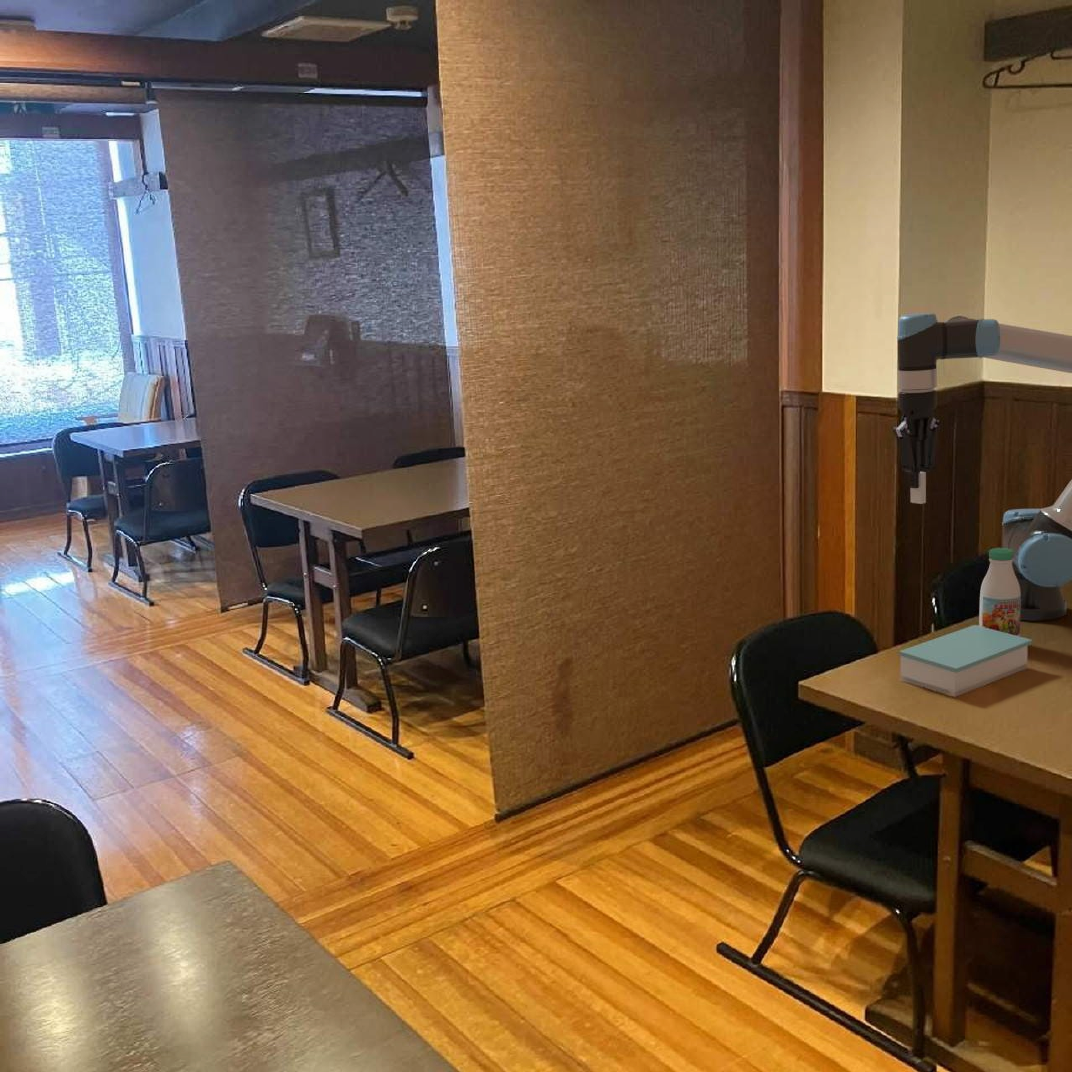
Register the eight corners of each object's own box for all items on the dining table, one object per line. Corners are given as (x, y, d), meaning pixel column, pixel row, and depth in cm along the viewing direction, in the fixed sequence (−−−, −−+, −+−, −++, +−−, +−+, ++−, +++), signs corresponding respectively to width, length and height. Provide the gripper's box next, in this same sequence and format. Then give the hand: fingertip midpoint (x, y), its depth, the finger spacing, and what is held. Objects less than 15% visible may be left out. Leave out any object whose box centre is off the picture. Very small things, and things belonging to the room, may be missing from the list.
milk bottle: (970, 643, 237) (972, 549, 232) (998, 636, 240) (1000, 543, 235) (999, 653, 230) (1002, 556, 225) (1027, 646, 233) (1031, 550, 228)
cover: (974, 628, 229) (974, 624, 229) (1032, 643, 219) (1032, 639, 219) (898, 655, 217) (899, 651, 217) (956, 672, 207) (956, 668, 207)
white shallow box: (972, 653, 230) (973, 630, 229) (1026, 668, 221) (1027, 643, 219) (900, 680, 219) (900, 655, 218) (954, 697, 209) (954, 671, 208)
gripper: (922, 385, 243) (923, 495, 248) (881, 393, 236) (883, 505, 241) (952, 386, 236) (953, 499, 242) (912, 394, 229) (913, 510, 235)
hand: (918, 502), depth 241 cm, fingers closed
